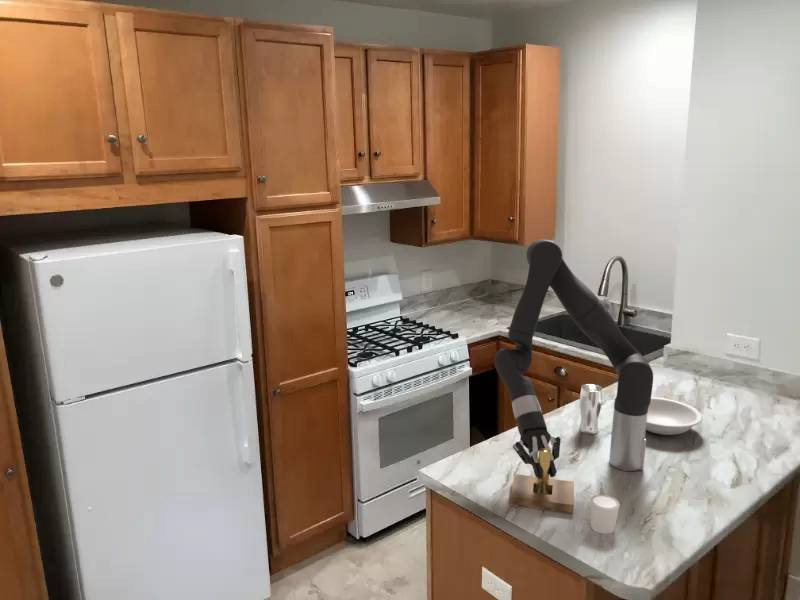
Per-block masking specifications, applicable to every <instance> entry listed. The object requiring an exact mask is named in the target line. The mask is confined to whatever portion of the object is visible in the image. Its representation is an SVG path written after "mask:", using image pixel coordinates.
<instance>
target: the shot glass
mask: <svg viewBox="0 0 800 600" xmlns="http://www.w3.org/2000/svg"><path fill="white" fill-rule="evenodd" d="M589 500H590V501H589V503H590V504H589V506H590V509H589V510H590V527H591V528H592V530H594V531H596V532H597V533H600V534H603V535H604V534H605V535H608V534H613V533H614V531H615V529H616V524H617V519H618V515H619V510H620V502H619V500H617V498H615V497H613V496H610V495H606V494H594V495H592V496H591V497H590V499H589Z"/></svg>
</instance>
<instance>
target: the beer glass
mask: <svg viewBox="0 0 800 600" xmlns="http://www.w3.org/2000/svg"><path fill="white" fill-rule="evenodd" d="M580 389H581V390H580V396H579V408H580V424H579V428H578V430H579V431H580V432H581V433H583V434H586V435H595V433H596V434H597V433H598V432H599V424H598V423H599V422H598V421H599V417H600V413H601V409H602V406H603V387H602V386H600V385H598V384H593V383H586V384H582V385H581V388H580Z"/></svg>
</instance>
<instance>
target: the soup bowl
mask: <svg viewBox="0 0 800 600" xmlns="http://www.w3.org/2000/svg"><path fill="white" fill-rule="evenodd" d="M702 421H703V415H702V413H701V412H700V411H699V410H697V409H696V408H695V407H693V406H691V405H689V404H687V403H684V402H682V401H677V400H675V399H669V398H666V397H665V398H664V397H656V396H651V401H650V405H649V407H648V415H647V425H646V432H650V433H654V434H657V435H663V436H664V435H665V436H673V435H674V436H675V435H680V434H683V433H686V432H687V431H689V430H691V429H692V428H693V427H694V426H697V425H698V424H700V423H701V422H702Z"/></svg>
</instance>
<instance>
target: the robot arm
mask: <svg viewBox="0 0 800 600" xmlns="http://www.w3.org/2000/svg"><path fill="white" fill-rule="evenodd" d="M526 261H527V263H528V265H529V267H528V274H527V279H526V283H525V286H524V288H523V291H522V294H521V297H520V299H519V301H518V303H517V305H516V308H515V310H514V313H513V316H512V319H511V322H510V325H509V329H508V332H507V336H508V338H509V340H511V341H513V342H514V343H515V346H514V349H513V348H505V347H504V348H501V349H499V350H497V352H496V354H495V356H494V366H495V369H496V371H497V374H498V376H499V377H500V379H501V381H502V382H503V385H504V386H505V387H506V389H507V391H508V395H509V397H510V402H511V406H512V412H513V417H514V419H515V421H516V422H515V423H516V426H517V429H518V433H519V435H520V439H519V441H516V442H515V443H514V444H513V445H512V449H513V450H514V451H515V452H516V453H517V455H518V456H519V458H520V459H521V460H522V462H523V463H524V464H525V465H530V466H532V469H533V472H534V477H538V479H542V478H543V473H542V469H541V466H540V463H538V458H539V449H541V448H547V449H549V450H550V451H551V454H550V469H549V478H554V477H555V476H556V474H557V472H558V471H557V468H556V465H555V460H557V459H559V458H560V452H561V451H560V450H561V439H562V438H561V437H560V436H556V437H555V436H552V435H551V434H550V433H549V431H548V427H547V423H546V421H545V418H544V414H543V411H542V408H541V404H540V402H539V400H538V398H537V394H536V392H535V388H534V385H533V383H532V381H531V379H529V378H528V377H525V376H523V374H525V373H527V371H528V370H529V369H530V367H531V365H532V360H533V358H532V357H533V356H532V355H533V338H534V335H535V332H536V328H537V325H538V321H539V319H540V315H541V311H542V308H543V305H544V302H545V298H546V296H547V293H548V291H549V288H551V290H552V291H553V292H554V294H555V295H556V297H557V299H558V300H559V302H560V303H561V305H562V307H563V308H564V310H565V311H566V312H567V314H568V315H569V317H570V318H571V320H572V321H573V322H574V323H575V325H576V326H577V327H578V328H579V330H580V331H581V332H582V333H583V334H584V335H585V336H586V337H587V338H588V339H589V340H590V341H591V342H593V343H594V344H595V345H597V347H599V348H600V350H602V352H603V353H604V354H605V356H606V357H607V358H608V360H609V362H610V363H611V366H612V367H613V369H614V370H615V373H616V374H617V375H616V376H617V378H618V379H617V389H616V395H615V399H614V402H613V403H614V405H613V415H612V416H613V417H612V423H611V424H612V427H611V437H610V449H609V461H608V462H609V464H610V466H612V467H614V468H615V469H618V470H621V471H626V472H636V471H644V466H645V457H646V454H645V453H646V447H647V437H646V434H647V430H646V425H647V415H648V407H649V405H650V401H651V397H652V393H653V383H654V373H653V369H652V367H651V365H650V363H649V361H648V360H647V359H646V357H644V356H643V355H642V354H641V353H640V351H639V350H637V349H636V348H635V347H634V346H633V345H632V344H631V342H630V341H629V340H628V339H627V338H626V337H625V336H624V335H623V333H622V331H621V330H620V328H619V326H618V324H617V323H616V321H615V320H614V318H613V316H612V315H611V314H610V312H609V310H607V308H606V307H605V305H604V304H603V303H602V302H601V300H600V299H599V298H598V297H597V296H596V295H595V293H594V292H593V291H592V290H591V289H590V288H589V287H588V286H587V285H586V284H585V283H583V281H581V280H580V279H579V278H578V277H577V276H576V275H575V274H574V273H573V272H572V270H571V269H570V268H569V266H568V265H567V263H566V261H565V260H564V258H563V252H562V249H561V247H560V246H559V244H558V243H556V242H555V241H552V240H549V239H538V240H534V241H533V242H531V244H529V246H528V247H527V250H526ZM549 443H550V445H551V446H552V448H551V447H550V445H549ZM525 448H526V449H527V451H526V449H525Z"/></svg>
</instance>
